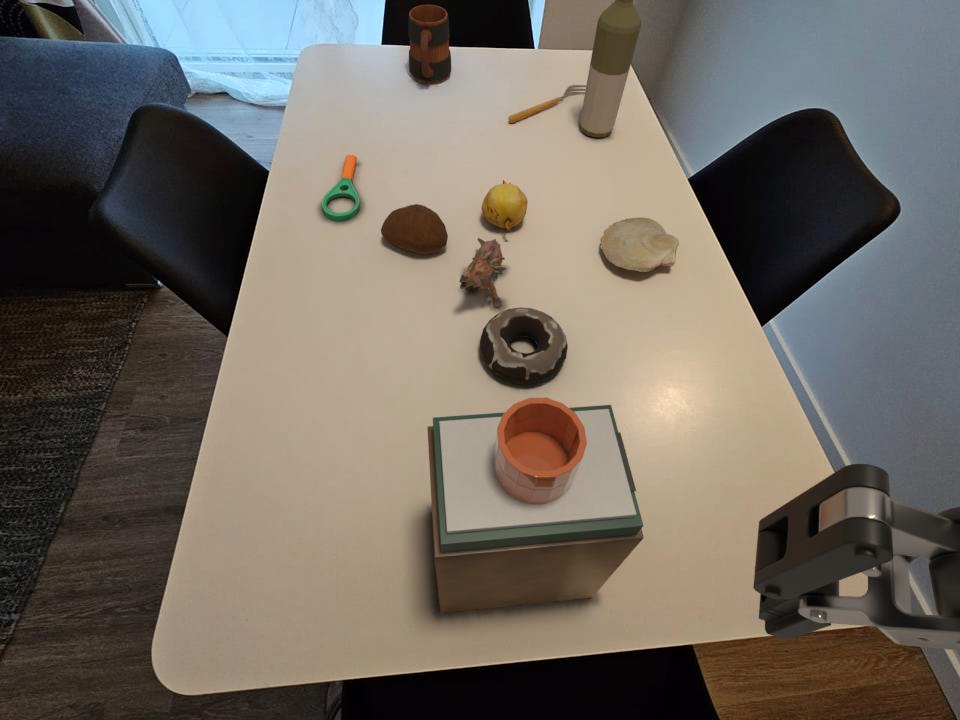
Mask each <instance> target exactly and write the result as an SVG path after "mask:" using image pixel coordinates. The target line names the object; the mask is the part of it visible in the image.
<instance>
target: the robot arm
mask: <svg viewBox="0 0 960 720" xmlns="http://www.w3.org/2000/svg"><path fill="white" fill-rule="evenodd" d="M890 485H891V484H890V475H889V473H888V472H887V471H886V470H885V469H883V468H881V467H880V466H876V465H873V464H867V463H852V464H847V465H844V466H843V467H841V468H839V469H837V470H836V471H835V472H833V473H832V474H830V475H828V476H827V477H825V478H824V479H822V480H821V481H819V482H817V483H815V485H813V486H811V487H810V488H808V489H807V490H805V491H803V492H802V493H800V494H799V495H797V496H796V497H794V498H792V499H791V500H789V501H788V502H786V503H785V504H783V505H782V506H780V507H778V508H777V509H775V510H773V511H771V512H770V513H769V514H767V515H766V516H764V517H762V518H760V519H759V521H758V529H757V539H756V540H757V541H756V552H755V564H754V575H753V576H754V577H753V587H752V588H753V590H754V591H755V592H757V593H758V594H760V595H759V608H758V619H759V620H762V621H764V630H765V631H764V632H765V633H766V634H767V635H770V636H772V637H775V638H778V639H780V640H783V641H790V640H793V639H795V638H799V637H802V636H805V635H807V634H810V633H813V632H816V631H819V630H822V629H825V628H828V627H830V626H832V624H835V625H847V626H848V625H849V626H860V627H861V626H864V627H874V628H875V627H876V628H877V629H878V630H879V631H880V632H882V634H883V635H885V636H886V637H887V638H888V639H889V640H890V641H892V642H893V643H895V644H897V645H901V646H907V647H909V646H910V647H917V648H918V647H920V648H931V649H939V650H940V649H941V650H951V651H960V506H956V507H952V508H948V509H945V510H942V511H940V512H938V513H933V512H930V511H928V510H925V509H922V508H919V507H917V506H914V505H912V504H908V503H906V502H904V501H900V500H897V499H895V498H892V497H891V488H890ZM917 558H922V559H925V560H928V561H929V562H928V571H929V577H930V582H931V589H932V594H933V599H934V600H933V601H934V605H935V610H936V612H937V614H938V615H937V614H919V613H913V612H912V599H911V583H910V565H911V563H912V562H913V561H914V560H916V559H917ZM860 573H862V574H863V575H864V576H867V590H866V593H864V594H863V595H861V596H850V595H849V596H848V595H840V581H842V580H844V579H847V578H849V577H852V576H855V575H857V574H860Z"/></svg>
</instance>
